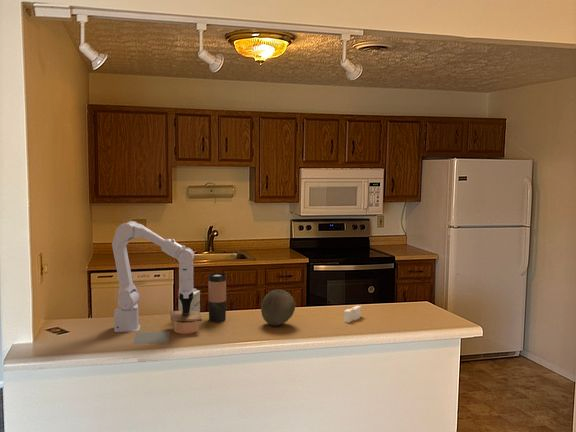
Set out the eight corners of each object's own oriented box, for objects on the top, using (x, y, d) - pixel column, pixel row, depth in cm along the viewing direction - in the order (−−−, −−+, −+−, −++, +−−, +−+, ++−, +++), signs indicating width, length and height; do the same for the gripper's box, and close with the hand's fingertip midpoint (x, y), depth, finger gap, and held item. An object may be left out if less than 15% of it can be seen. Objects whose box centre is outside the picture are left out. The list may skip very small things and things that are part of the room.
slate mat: (133, 345, 201) (132, 343, 201) (136, 334, 214) (136, 332, 214) (168, 343, 204) (168, 342, 204) (170, 332, 216) (170, 331, 216)
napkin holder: (359, 315, 246) (359, 303, 246) (372, 322, 236) (372, 309, 235) (330, 318, 241) (330, 305, 240) (342, 325, 230) (342, 312, 230)
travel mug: (229, 319, 236) (229, 274, 234) (218, 323, 230) (218, 277, 228) (216, 316, 240) (216, 272, 238) (204, 320, 234) (204, 275, 232)
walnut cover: (171, 321, 211) (171, 312, 211) (170, 312, 223) (170, 304, 222) (201, 321, 214) (202, 311, 214) (199, 312, 226) (199, 303, 225)
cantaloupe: (266, 331, 219) (266, 295, 218) (257, 321, 233) (257, 287, 231) (299, 328, 224) (299, 293, 222) (288, 319, 237) (288, 285, 236)
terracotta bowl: (173, 335, 213) (173, 323, 213) (174, 327, 223) (174, 315, 223) (199, 334, 215) (199, 322, 214) (199, 326, 225) (198, 314, 224)
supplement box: (194, 323, 229) (194, 294, 228) (178, 322, 231) (177, 293, 230) (200, 318, 237) (200, 290, 235) (184, 317, 238) (184, 289, 237)
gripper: (196, 282, 210) (196, 316, 212) (196, 274, 225) (196, 306, 226) (177, 282, 209) (178, 317, 211) (179, 275, 223) (179, 307, 225)
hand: (186, 311), depth 218 cm, fingers closed on walnut cover, 3 cm apart
